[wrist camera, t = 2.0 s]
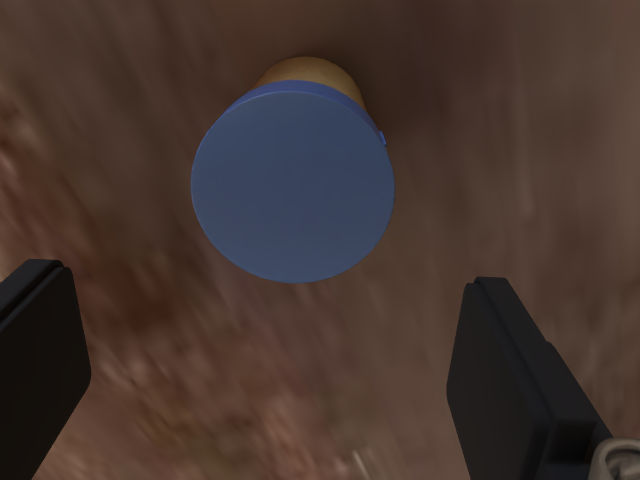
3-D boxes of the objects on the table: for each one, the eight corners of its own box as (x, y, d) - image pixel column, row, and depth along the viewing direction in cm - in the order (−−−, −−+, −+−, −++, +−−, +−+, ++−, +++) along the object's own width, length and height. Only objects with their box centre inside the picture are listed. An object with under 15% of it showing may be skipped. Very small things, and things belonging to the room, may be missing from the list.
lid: (338, 41, 17) (340, 47, 15) (419, 209, 20) (429, 234, 18) (168, 136, 19) (149, 153, 16) (264, 280, 21) (257, 311, 19)
